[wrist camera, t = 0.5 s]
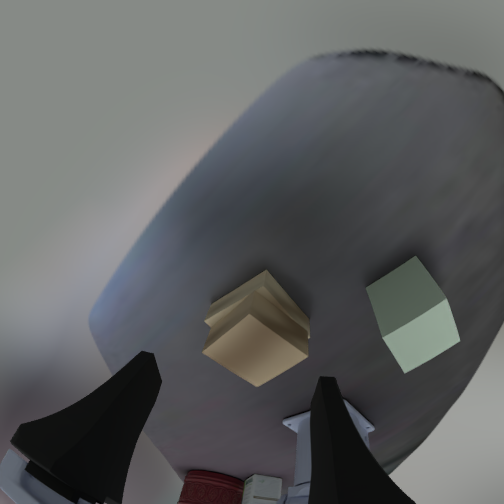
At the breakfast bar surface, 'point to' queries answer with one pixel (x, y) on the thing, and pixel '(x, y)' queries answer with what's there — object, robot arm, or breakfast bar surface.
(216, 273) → the breakfast bar surface
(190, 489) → the canister
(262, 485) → the syrup box
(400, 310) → the block
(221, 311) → the slab bottom
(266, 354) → the slab top
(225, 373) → the breakfast bar surface
